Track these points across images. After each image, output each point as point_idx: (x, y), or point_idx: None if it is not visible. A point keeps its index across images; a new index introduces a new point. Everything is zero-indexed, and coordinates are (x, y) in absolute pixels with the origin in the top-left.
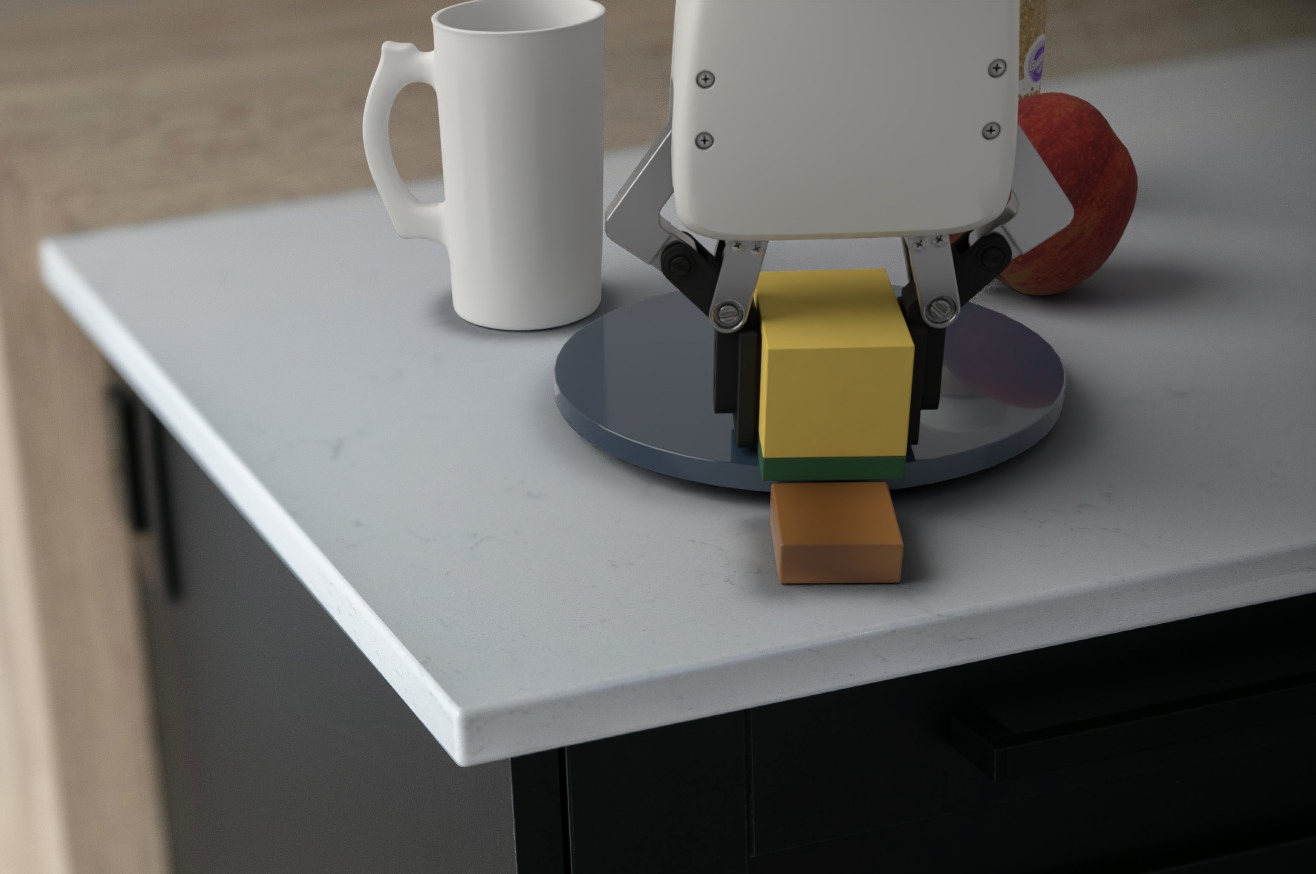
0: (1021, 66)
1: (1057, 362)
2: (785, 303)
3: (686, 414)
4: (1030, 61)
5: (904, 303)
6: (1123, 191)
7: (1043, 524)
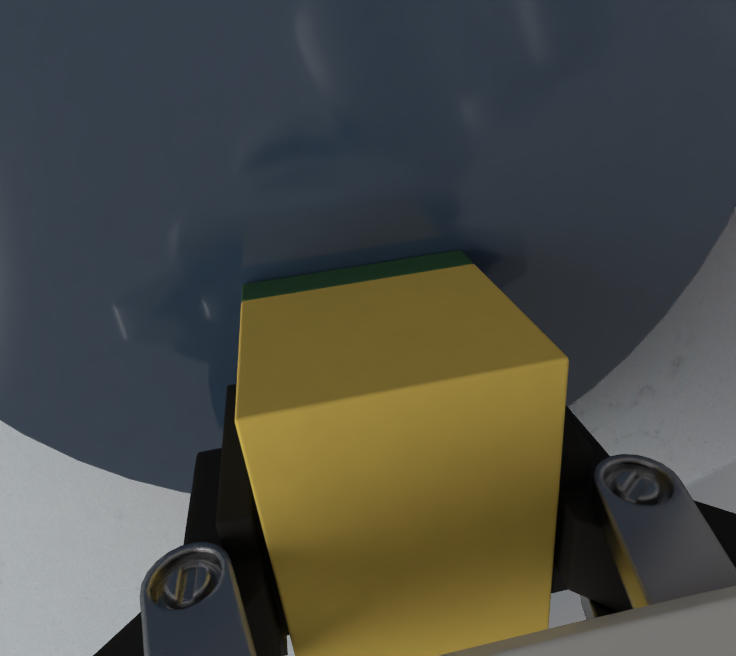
0: None
1: None
2: (334, 580)
3: (148, 369)
4: None
5: (565, 542)
6: None
7: (592, 435)
